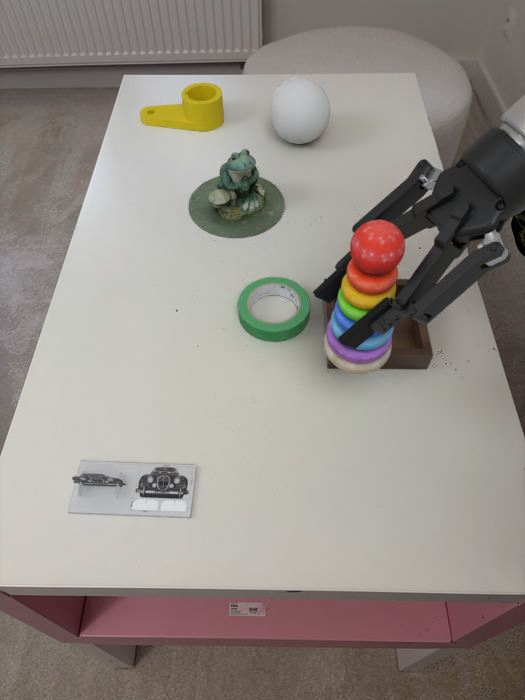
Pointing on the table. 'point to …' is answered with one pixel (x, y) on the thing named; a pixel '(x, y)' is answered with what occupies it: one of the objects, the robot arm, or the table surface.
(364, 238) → the stacking toy
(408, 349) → the square tray
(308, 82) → the decorative ball
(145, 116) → the crank
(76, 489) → the car cutout
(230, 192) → the frog figurine
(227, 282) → the table surface
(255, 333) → the tape roll
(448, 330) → the table surface
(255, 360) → the table surface
